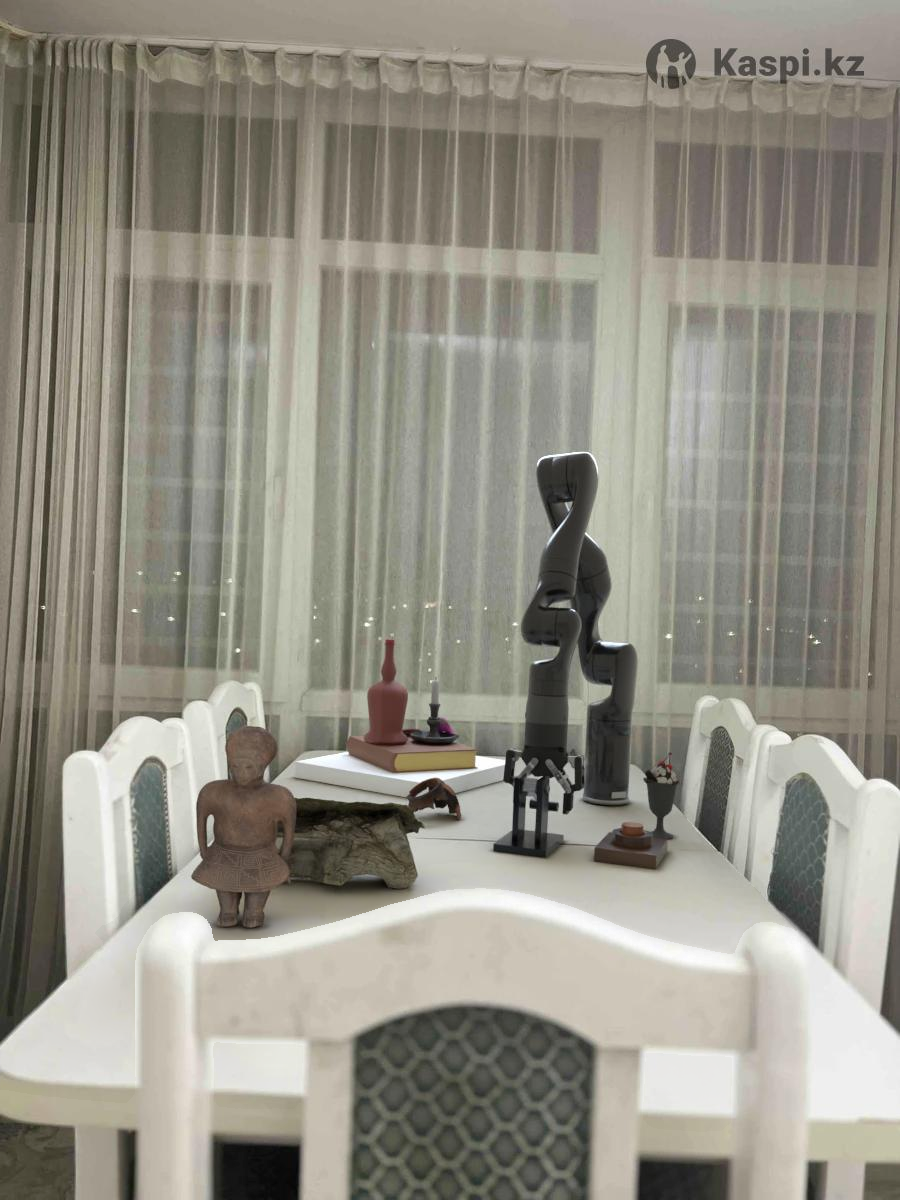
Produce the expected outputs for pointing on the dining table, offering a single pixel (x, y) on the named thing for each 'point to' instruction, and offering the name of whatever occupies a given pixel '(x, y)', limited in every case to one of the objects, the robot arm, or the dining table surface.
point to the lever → (531, 791)
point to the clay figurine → (245, 829)
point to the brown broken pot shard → (434, 796)
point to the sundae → (661, 794)
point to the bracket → (539, 839)
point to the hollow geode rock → (352, 841)
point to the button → (632, 828)
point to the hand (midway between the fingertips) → (542, 810)
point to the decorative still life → (402, 748)
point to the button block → (631, 849)
